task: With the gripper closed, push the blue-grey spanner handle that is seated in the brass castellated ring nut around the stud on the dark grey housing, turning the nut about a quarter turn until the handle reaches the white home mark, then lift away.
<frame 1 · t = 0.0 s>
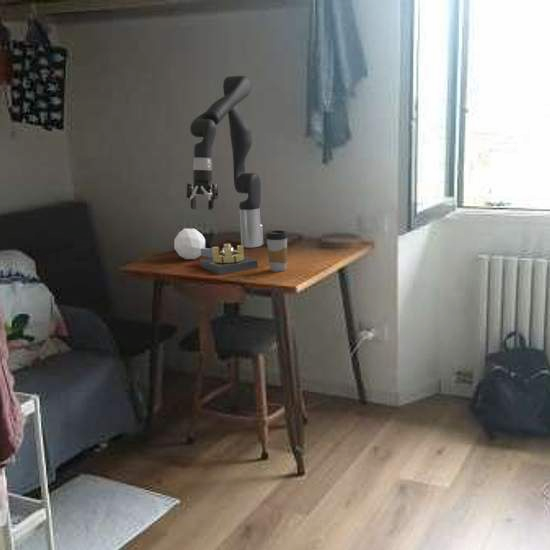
hand: (201, 209, 297), 22 cm above the table, tool pointing down, fingers open, 8 cm apart
coffee cup: (278, 270, 284), on the table
housing: (228, 267, 292), on the table
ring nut: (220, 252, 293), point 6 cm above the table, hinge at 0.0°
geodesic sphere: (191, 259, 311), on the table
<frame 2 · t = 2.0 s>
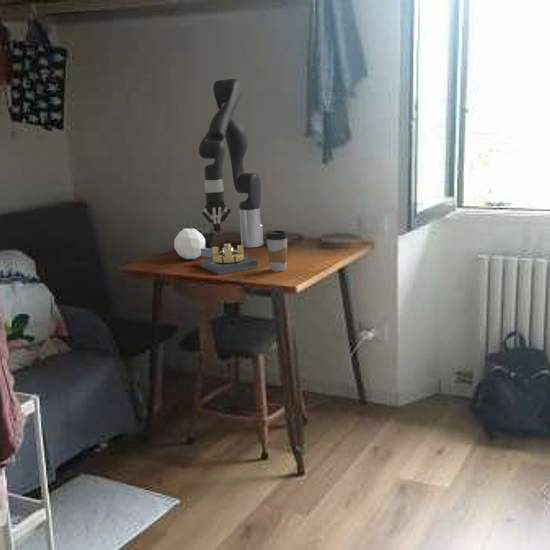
hand: (216, 232, 300), 12 cm above the table, tool pointing down, fingers closed
nothing on the table moved.
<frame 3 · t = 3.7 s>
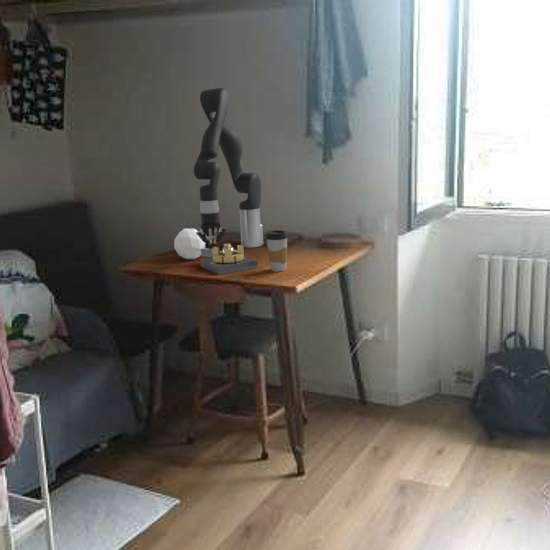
hand: (212, 252, 300), 4 cm above the table, tool pointing down, fingers closed
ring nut: (220, 252, 293), point 6 cm above the table, hinge at 0.3°, touching gripper
everything else where it was.
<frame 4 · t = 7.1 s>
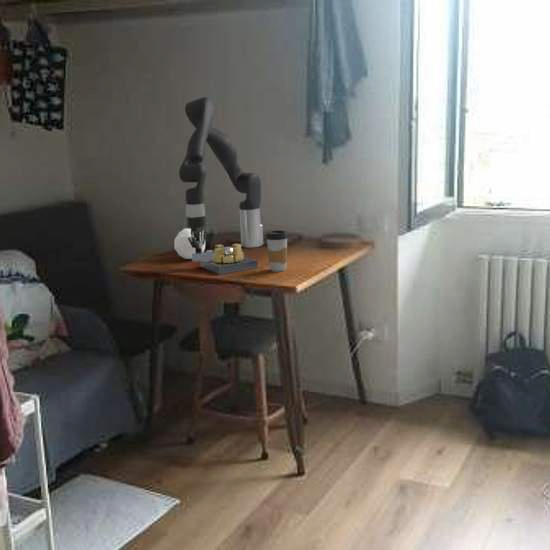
hand: (199, 256, 293), 4 cm above the table, tool pointing down, fingers closed
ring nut: (217, 253, 290), point 6 cm above the table, hinge at 43.0°, touching gripper
everything else where it was.
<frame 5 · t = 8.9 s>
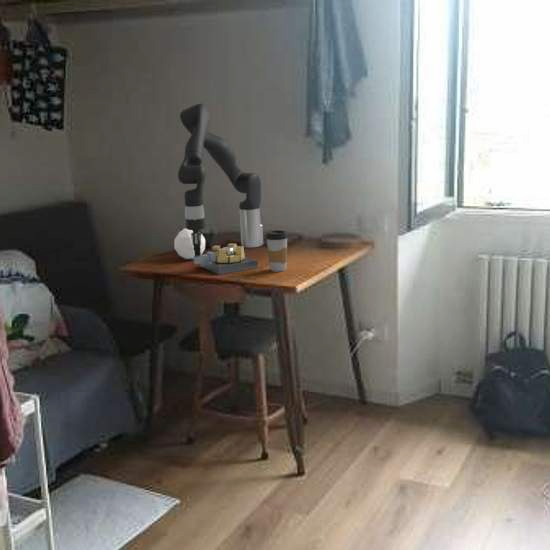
hand: (197, 259, 288), 4 cm above the table, tool pointing down, fingers closed
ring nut: (218, 254, 289), point 6 cm above the table, hinge at 67.0°, touching gripper
everything else where it was.
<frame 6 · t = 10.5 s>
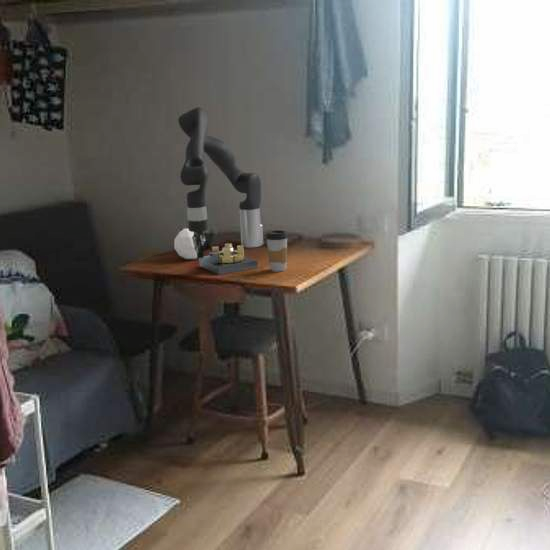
hand: (200, 261, 285), 4 cm above the table, tool pointing down, fingers closed
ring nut: (220, 254, 287), point 6 cm above the table, hinge at 84.9°
everything else where it was.
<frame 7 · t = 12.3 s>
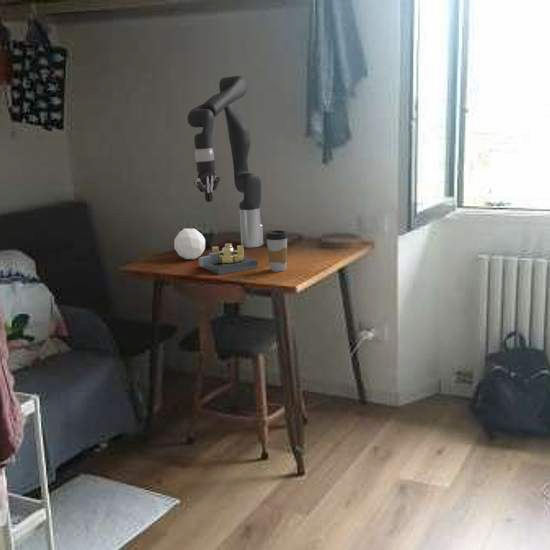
hand: (209, 201, 299), 25 cm above the table, tool pointing down, fingers closed
nothing on the table moved.
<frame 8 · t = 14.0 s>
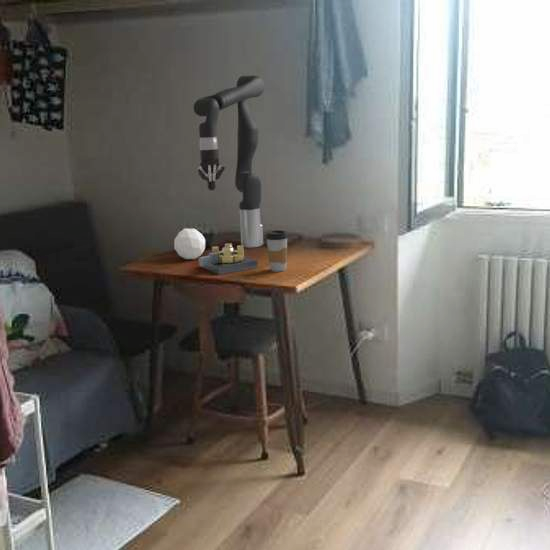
hand: (211, 190, 304), 29 cm above the table, tool pointing down, fingers closed
nothing on the table moved.
at the end: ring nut at +85° (first picture: +0°); the gripper is holding nothing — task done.
